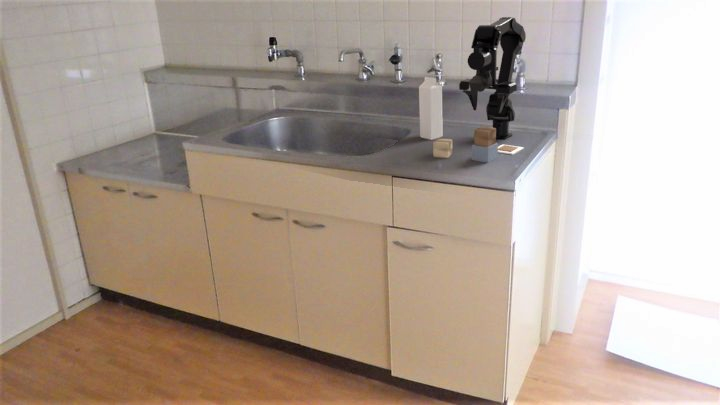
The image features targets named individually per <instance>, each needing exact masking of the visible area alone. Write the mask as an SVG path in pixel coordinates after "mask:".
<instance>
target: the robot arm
mask: <svg viewBox="0 0 720 405" xmlns="http://www.w3.org/2000/svg"><path fill="white" fill-rule="evenodd" d="M524 28H525V27H524V26H522V25H521V24H520V23H519V22H517V20H516V18H515V17H513V16H512V17H511V16H506V17H505V16H504V17H500V18H499V19H498V20H496V21H494V22H492V23H490V24H483V25H478V27H477V28H476V29H475V32H474V34H473V40H472V43H471V47H470V48H471V49H473V52H471V53H470V54H469V56H468V58H467V65H468V67H469V68H470V69H471V70H473V71H476V72H475V75H474V76H472V77H471V78H466V79H464V80H463V79H462V80H461V81H459V84H458V90H460V91H462V93H464V94H466V95H467V97H468V99H469V101H470V103H471V107H472V109H473V111H477V107H478V96H479V95H478V94H479V93H481V92H484V91H485V90H495V91H494V92H493V93H490V95H489V97H488V98H489V99H488V103H487V105H486V109H485V111H486V117H487V118H486V119H487V121H492V128H496V139H500V140H505V139H507V138H509V137H511V136H513V133H510V123H511V122H514V121H515V117H516V112H515V110H514V108H513V101H512V98H511V97H510V95H511V94H513V93H515V92H516V91H517V90H518V86H517V83H516V82H515V81H512V80H513V73H514V70H515V69H514V68H515V62H516V57H517V55H518V54H519V52H520V51H521V50H522V49H523V47H524V46H523V45H524V43H525V42H526V38H527V37H526V32H525V29H524ZM499 45H500V47H501V50H502V56H501V60H500V67H499V66H497V55H498V54H497V51H498V50H497V49H498V48H499ZM497 71H499V72H498V78H497Z"/></svg>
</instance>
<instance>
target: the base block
mask: <svg viewBox="0 0 720 405" xmlns="http://www.w3.org/2000/svg"><path fill="white" fill-rule="evenodd" d="M498 146H499V143H498V142H496V143H495V144H493V145H492V146H490V147H483V146H477V145H474V144H472V145H471V160H472V161H475V162H483V163H491V162H492V161H494V160H496V159H498V154H499V153H498Z"/></svg>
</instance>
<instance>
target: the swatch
mask: <svg viewBox="0 0 720 405" xmlns="http://www.w3.org/2000/svg"><path fill="white" fill-rule="evenodd" d="M524 149H525V147H522V146H516V145H510V144H501V145H500V144H499V145H498V154H499V153H500V154H505V155H506V154H507V155H512V156H513V155H515V154H517V153H520V152H521V151H522V150H524Z"/></svg>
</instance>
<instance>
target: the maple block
mask: <svg viewBox="0 0 720 405" xmlns="http://www.w3.org/2000/svg"><path fill="white" fill-rule="evenodd" d="M432 146H433V149H432V151H433V153H432V154H433V158H443V159H444V158H446V159H449V158H450V157H451V155H453V139H452V138H451V139H450V138H436V139H435V141H433V142H432Z"/></svg>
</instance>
